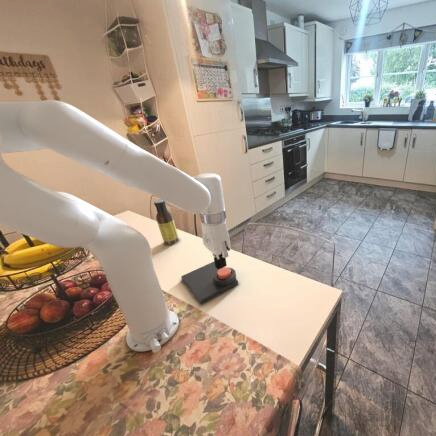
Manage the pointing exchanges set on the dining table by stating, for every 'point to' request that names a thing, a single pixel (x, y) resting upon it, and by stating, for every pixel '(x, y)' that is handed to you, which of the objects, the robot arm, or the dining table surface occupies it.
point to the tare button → (224, 273)
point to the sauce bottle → (166, 223)
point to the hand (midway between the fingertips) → (221, 266)
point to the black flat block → (208, 282)
